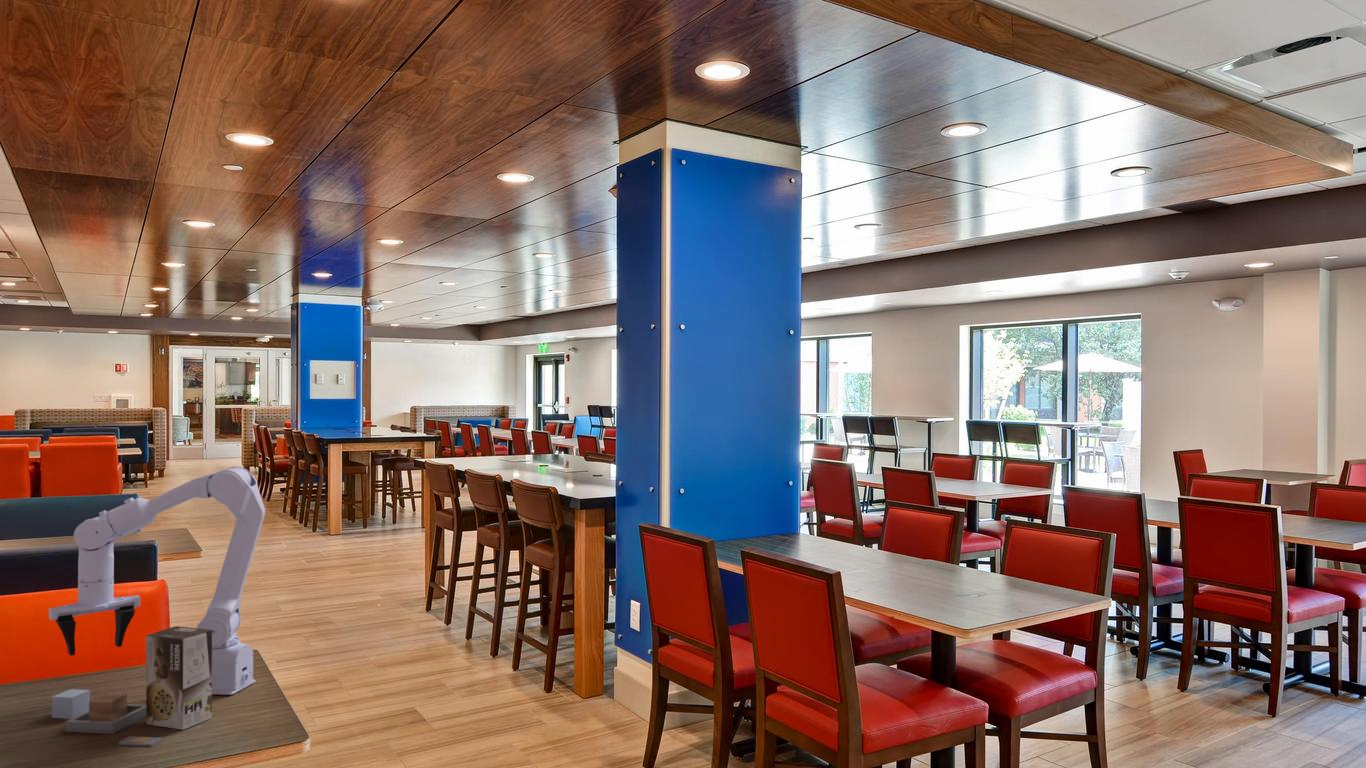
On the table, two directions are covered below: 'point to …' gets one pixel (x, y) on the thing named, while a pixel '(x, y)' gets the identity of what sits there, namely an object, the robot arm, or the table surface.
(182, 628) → the coffee box
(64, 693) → the slate block
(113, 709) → the walnut block
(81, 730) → the parts tray
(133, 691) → the table surface
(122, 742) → the label tile
